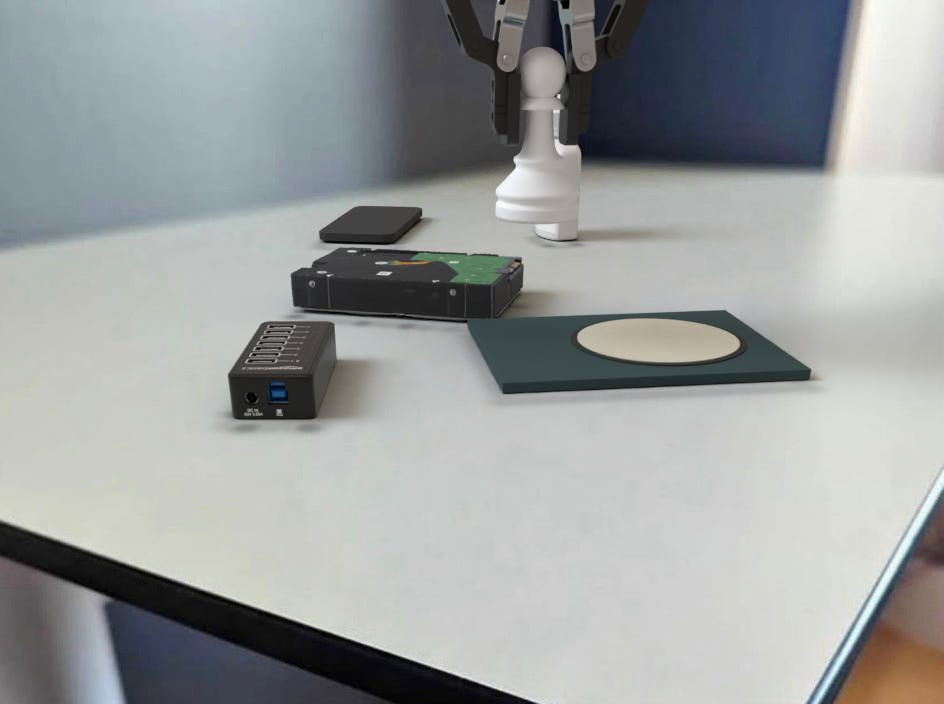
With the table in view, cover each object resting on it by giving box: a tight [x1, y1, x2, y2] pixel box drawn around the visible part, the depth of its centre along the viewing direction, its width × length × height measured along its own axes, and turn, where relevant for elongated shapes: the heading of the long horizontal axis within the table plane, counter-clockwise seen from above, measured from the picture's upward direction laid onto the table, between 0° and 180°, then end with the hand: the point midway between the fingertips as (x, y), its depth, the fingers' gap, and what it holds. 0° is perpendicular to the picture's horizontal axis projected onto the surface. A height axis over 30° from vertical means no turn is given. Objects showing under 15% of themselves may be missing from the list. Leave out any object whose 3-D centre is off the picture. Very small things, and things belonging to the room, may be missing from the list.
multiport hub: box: [227, 320, 338, 420], centre depth 58 cm, size 4×11×2 cm, turn 0°
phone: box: [318, 205, 423, 243], centre depth 100 cm, size 7×1×15 cm
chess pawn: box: [494, 46, 580, 225], centre depth 60 cm, size 5×5×9 cm
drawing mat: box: [467, 309, 812, 394], centre depth 64 cm, size 18×14×1 cm
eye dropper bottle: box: [534, 93, 582, 241], centre depth 95 cm, size 4×6×12 cm
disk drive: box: [290, 246, 525, 322], centre depth 75 cm, size 10×3×15 cm
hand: (539, 142), depth 60 cm, fingers closed on chess pawn, 3 cm apart
